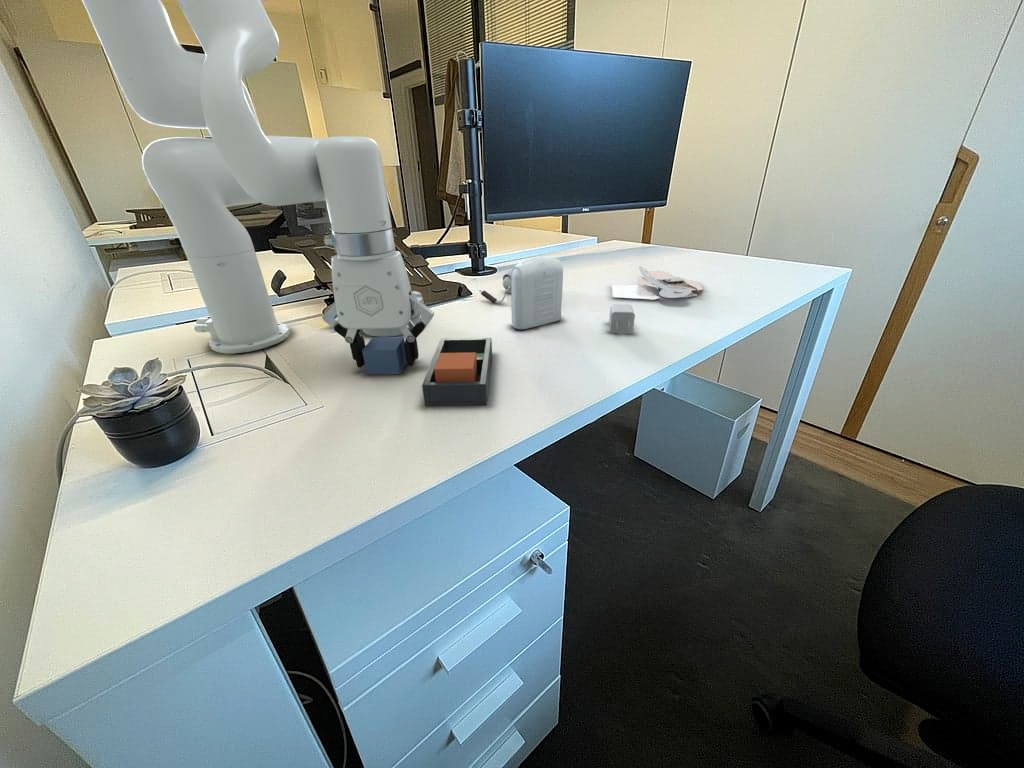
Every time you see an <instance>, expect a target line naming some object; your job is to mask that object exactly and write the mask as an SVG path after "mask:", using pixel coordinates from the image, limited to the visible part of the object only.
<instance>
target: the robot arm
mask: <svg viewBox="0 0 1024 768" xmlns="http://www.w3.org/2000/svg"><path fill="white" fill-rule="evenodd" d="M176 1H177V3H178V5H179V7H180V9H181V10H182V13H183V15H184V16H185V18H186V20H187V22H188V24H189V26H190V28H191V30H192V31H193V33H194V35H195V37H196V39H197V40H198V42H199V44H200V46H201V47H202V49H203V52H204V54H203V53H198V52H194V51H188V50H186V49H185V48H184V47H183V46H182V45H181V43H180V42H179V39H178V37H177V36H176V33H175V31H174V28H173V25H172V23H171V20H170V17H169V14H168V12H167V9H166V7H165V4H163V2H162V0H81V2H82V4H83V5H84V8H85V10H86V12H87V14H88V16H89V20H90V21H91V24H92V26H93V28H94V30H95V34H96V35H97V37H98V39H99V41H100V45H101V47H102V48H103V51H104V53H105V55H106V58H107V60H108V62H109V64H110V66H111V68H112V71H113V73H114V76H115V77H116V80H117V83H118V84H119V86H120V89H121V91H122V93H123V95H124V97H125V99H126V101H127V103H128V104H129V106H130V107H131V109H132V110H133V111H134V113H135V114H136V115H137V116H138V117H139V118H140V119H141V120H143V121H145V122H147V123H149V124H152V125H155V126H161V127H166V128H168V127H169V128H177V129H179V128H180V129H201V130H207V131H208V132H209V135H210V138H209V137H185V136H184V137H183V136H182V137H181V136H180V137H179V136H178V137H175V136H174V137H166V138H160V139H157V140H154V141H152V142H150V143H149V144H148V145H147V146H146V147H145V149H144V150H143V153H142V157H141V163H142V169H143V172H144V175H145V177H146V179H147V181H148V183H149V185H150V187H151V189H153V192H154V193H155V195H156V197H157V198H158V199H159V202H160V203H161V205H162V206H163V208H164V210H165V211H166V213H167V215H168V217H169V219H170V221H171V223H172V225H173V228H174V229H175V232H176V234H177V236H178V239H179V242H180V244H181V247H182V249H183V251H184V254H185V257H186V259H187V262H188V264H189V266H190V269H191V272H192V274H193V277H194V280H195V283H196V284H197V288H198V289H199V292H200V295H201V298H202V300H203V303H204V306H205V308H206V311H207V313H208V315H209V317H199V318H197V319H196V321H195V325H194V331H195V332H196V333H209V334H210V339H209V340H208V345H209V348H210V350H212V351H213V352H216V353H220V354H243V353H251V352H256V351H259V350H264V349H267V348H271V347H272V346H275V345H277V344H279V343H282V342H283V341H284V340H286V339H287V338H288V337H289V335H290V332H291V331H290V328H289V326H288V325H287V324H285V323H282V322H278V321H277V318H276V314H275V312H274V308H273V305H272V302H271V299H270V298H271V297H270V295H269V292H268V289H267V286H266V283H265V279H264V276H263V273H262V269H261V266H260V262H259V260H258V256H257V254H256V249H255V246H254V244H253V241H252V238H251V236H250V234H249V232H248V230H247V228H246V227H245V226H244V225H243V224H242V223H241V222H240V221H239V220H238V218H236V216H235V215H233V213H232V212H231V211H230V210H229V209H228V208H229V207H235V206H242V205H243V206H244V205H251V204H258V203H260V204H262V205H266V206H270V207H281V206H290V205H291V206H292V205H299V204H305V203H317V202H325V204H326V208H327V213H328V216H329V218H328V219H329V223H330V227H331V232H330V234H329V235H324V237H323V242H324V245H325V246H326V247H332V248H334V252H335V253H336V254H335V255H332V257H331V282H332V290H333V291H332V292H333V298H334V303H333V305H332V306H330V307H329V308H328V310H326V312H325V313H324V314H323V315H322V317H321V318H322V320H323V321H324V323H326V324H327V325H329V326H330V327H331V328H333V330H334V332H335V333H337V334H338V335H339V336H340V337H342V338H343V339H344V341H345V343H347V344H349V348H350V351H351V357H352V360H353V361H355V363H356V368H358V369H359V368H363V367H364V366H365V362H364V357H363V353H362V350H363V349H364V347H365V346H366V342H365V338H364V336H363V335H361V334H360V333H361V331H362V329H396V328H399V330H400V331H401V332H402V335H403V337H404V341H405V342H404V350H405V356H406V366H407V367H408V368H412V367H413V366H414V364H415V362H416V360H418V359H419V355H420V354H419V347H418V340H417V338H418V337H419V336H420V334H421V333H422V332H423V331H424V330H425V328H426V327H427V326H428V325H429V323H430V322H431V321H432V320H433V318H434V316H435V311H434V310H432V309H431V308H429V306H427V305H426V304H425V303H424V304H423V303H421V302H420V301H419V300H417V299H416V298H414V297H413V296H412V292H413V291H412V287H411V283H410V278H409V274H408V270H407V267H406V265H405V262H404V259H403V256H402V253H401V252H400V251H399V250H396V246H395V239H394V231H393V226H392V225H393V224H392V219H391V211H390V206H389V199H388V192H387V187H386V180H385V179H386V178H385V174H384V166H383V161H382V154H381V150H380V147H379V145H378V143H377V142H376V141H375V140H374V139H372V138H370V137H367V136H352V135H351V136H349V135H348V136H347V135H342V136H341V135H340V136H328V137H327V136H326V137H323V138H320V137H304V136H287V135H265V133H264V132H263V130H262V127H261V125H260V122H259V119H258V115H257V112H256V108H255V105H254V103H253V101H252V98H251V95H250V93H249V91H248V89H247V87H246V85H245V82H243V79H245V78H247V77H250V76H252V75H254V74H257V73H258V72H260V71H262V70H263V69H265V68H267V67H268V66H270V64H271V63H273V61H274V60H275V59H276V57H277V56H278V54H279V51H280V40H279V36H278V34H277V31H276V29H275V27H274V25H273V23H272V22H271V20H270V17H269V16H268V13H267V11H266V9H265V7H264V5H263V3H262V2H267V1H268V0H176ZM415 312H417V313H418V314H419V315H420V320H419V321H418V323H417V324H416V325H414V324H413V323H412V321H411V317H412V316H414V313H415Z"/></svg>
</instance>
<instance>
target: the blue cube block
mask: <svg viewBox="0 0 1024 768" xmlns="http://www.w3.org/2000/svg"><path fill="white" fill-rule="evenodd" d="M404 342H405V337H404V336H389V337H377V336H371V338H370V340H369V341H368V342H367V343H366V344H365V347H364V349H363V350H362V353H363V357H364V362H365V364H364V366H365V371H366V375H368V376H370V375H373V376H375V375H401V373H402V371H403V369H404V368H405V365H407V362H406V356H405V350H404Z"/></svg>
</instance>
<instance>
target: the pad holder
mask: <svg viewBox="0 0 1024 768" xmlns="http://www.w3.org/2000/svg"><path fill="white" fill-rule="evenodd" d="M472 352H476V360H477V374H478V379H477V382H436V379H435V371H434V369H435V366H436V363H437V361H438V358H439V355H440V353H472ZM492 360H493V342H492V337H459V338H458V337H455V338H453V337H451V338H440V340H439V342H438V345H437V347H436V349H435V352H434V355H433V357H432V360H431V361H430V365H429V367H428V369H427V372H426V374H425V377H424V379H423V382H422V384H421V388H422V395H423V402H424V406H425V407H437V406H438V407H439V406H487V405H488V398H489V388H490V380H491V379H490V378H491V371H492Z"/></svg>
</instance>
